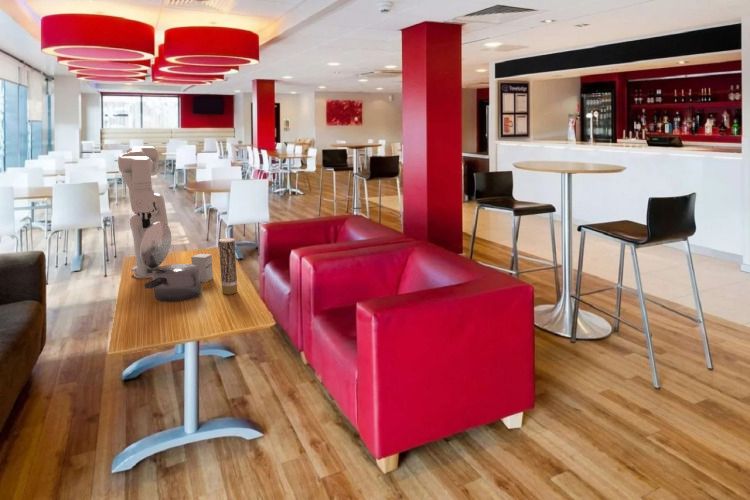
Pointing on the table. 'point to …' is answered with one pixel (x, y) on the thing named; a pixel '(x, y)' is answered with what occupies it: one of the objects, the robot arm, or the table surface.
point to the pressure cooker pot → (175, 282)
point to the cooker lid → (155, 244)
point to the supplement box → (204, 266)
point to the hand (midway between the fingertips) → (146, 227)
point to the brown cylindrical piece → (228, 265)
